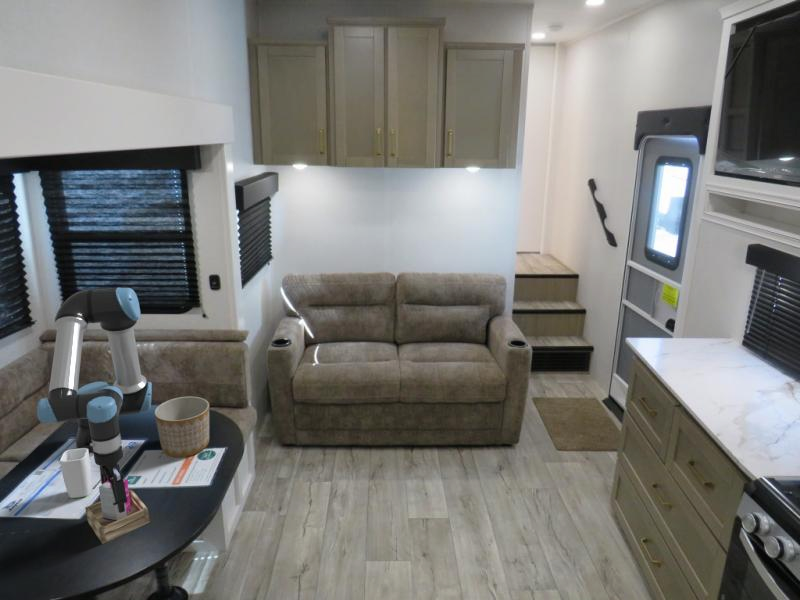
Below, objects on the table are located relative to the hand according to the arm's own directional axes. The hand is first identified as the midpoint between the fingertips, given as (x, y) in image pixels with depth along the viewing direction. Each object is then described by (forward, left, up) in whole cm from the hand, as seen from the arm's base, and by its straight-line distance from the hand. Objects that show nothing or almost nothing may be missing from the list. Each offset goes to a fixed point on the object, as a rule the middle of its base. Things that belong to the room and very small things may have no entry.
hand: (117, 512), depth 169 cm
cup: (-23, -4, -4) cm, 24 cm away
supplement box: (0, 0, -1) cm, 1 cm away
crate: (0, 0, -3) cm, 3 cm away
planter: (-27, +34, -4) cm, 44 cm away
